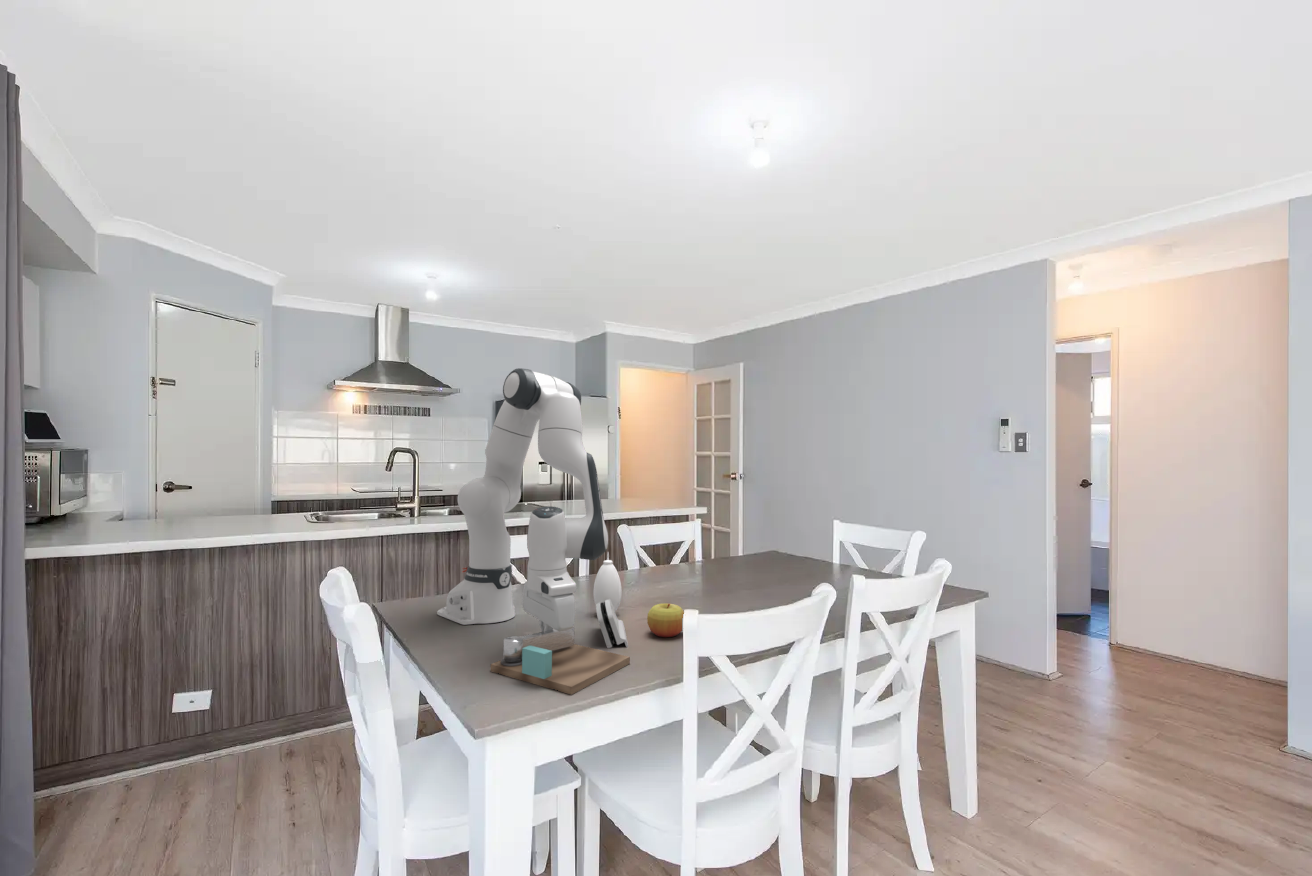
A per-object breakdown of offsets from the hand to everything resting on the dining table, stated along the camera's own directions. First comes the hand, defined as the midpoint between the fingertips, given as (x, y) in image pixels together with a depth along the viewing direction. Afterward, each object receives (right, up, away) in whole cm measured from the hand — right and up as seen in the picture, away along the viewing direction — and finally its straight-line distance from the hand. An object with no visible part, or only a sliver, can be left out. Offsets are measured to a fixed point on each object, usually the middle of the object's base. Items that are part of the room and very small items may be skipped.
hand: (546, 640), depth 138 cm
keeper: (+1, -2, -15) cm, 15 cm away
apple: (+27, -5, +17) cm, 33 cm away
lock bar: (-1, -1, -4) cm, 4 cm away
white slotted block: (+14, -4, +15) cm, 20 cm away
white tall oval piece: (+11, -5, +34) cm, 36 cm away
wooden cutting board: (+5, -4, -7) cm, 9 cm away
